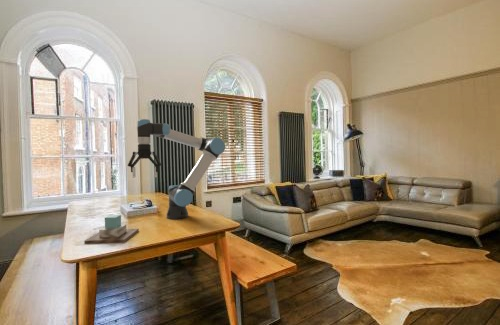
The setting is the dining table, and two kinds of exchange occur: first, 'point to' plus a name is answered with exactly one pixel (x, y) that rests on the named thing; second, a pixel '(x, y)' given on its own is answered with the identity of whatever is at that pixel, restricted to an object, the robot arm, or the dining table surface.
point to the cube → (112, 221)
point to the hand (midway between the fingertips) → (145, 177)
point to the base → (111, 239)
